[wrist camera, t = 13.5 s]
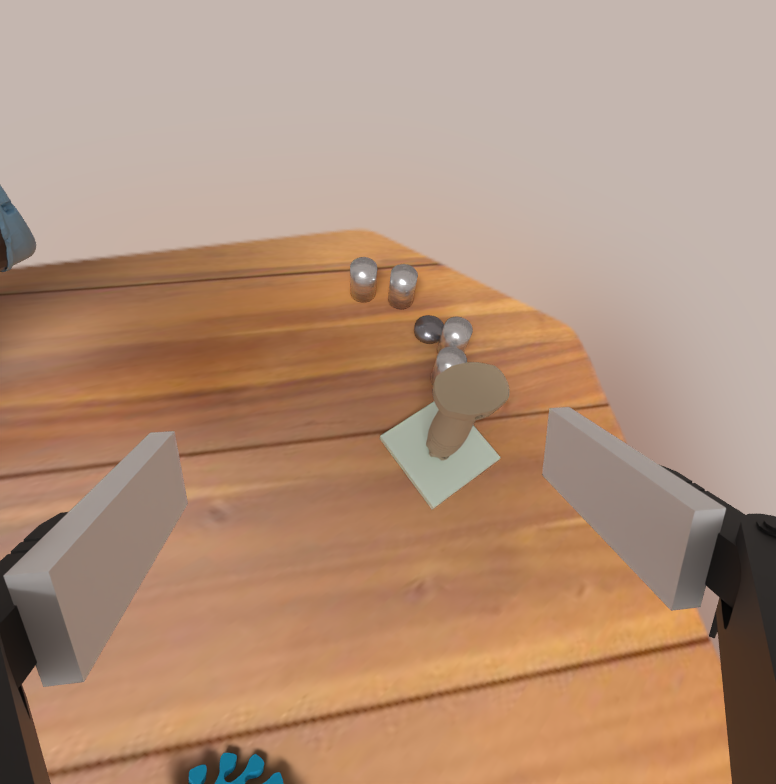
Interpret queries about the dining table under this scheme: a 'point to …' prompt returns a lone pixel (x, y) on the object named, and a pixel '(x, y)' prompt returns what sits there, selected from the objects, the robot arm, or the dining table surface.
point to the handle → (463, 404)
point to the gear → (228, 766)
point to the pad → (431, 472)
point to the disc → (428, 329)
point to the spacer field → (402, 298)
